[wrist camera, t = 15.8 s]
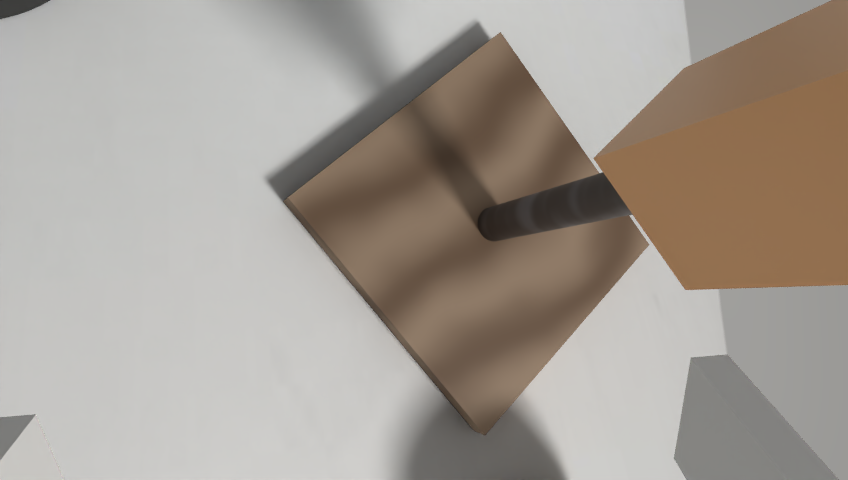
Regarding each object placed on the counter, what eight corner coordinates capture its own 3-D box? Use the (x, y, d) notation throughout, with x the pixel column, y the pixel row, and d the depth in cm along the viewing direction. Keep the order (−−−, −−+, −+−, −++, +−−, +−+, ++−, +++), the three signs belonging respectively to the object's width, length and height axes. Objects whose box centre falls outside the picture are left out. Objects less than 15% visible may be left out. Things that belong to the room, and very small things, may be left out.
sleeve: (593, 158, 24) (862, 64, 14) (683, 68, 26) (960, -59, 17) (685, 289, 25) (986, 280, 16) (762, 191, 27) (1059, 134, 18)
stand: (283, 201, 36) (1113, -550, 4) (490, 40, 44) (1357, -674, 12) (474, 430, 40) (1689, 928, 8) (635, 246, 47) (1599, 123, 15)
